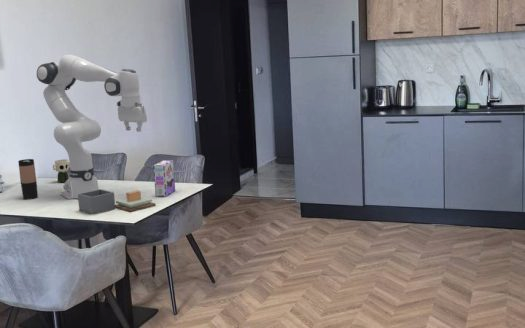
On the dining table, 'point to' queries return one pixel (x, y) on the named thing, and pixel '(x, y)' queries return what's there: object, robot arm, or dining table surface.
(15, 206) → the dining table surface
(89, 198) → the storage box
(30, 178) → the travel mug
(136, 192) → the lid
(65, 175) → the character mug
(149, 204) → the walnut board
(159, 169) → the candy box
